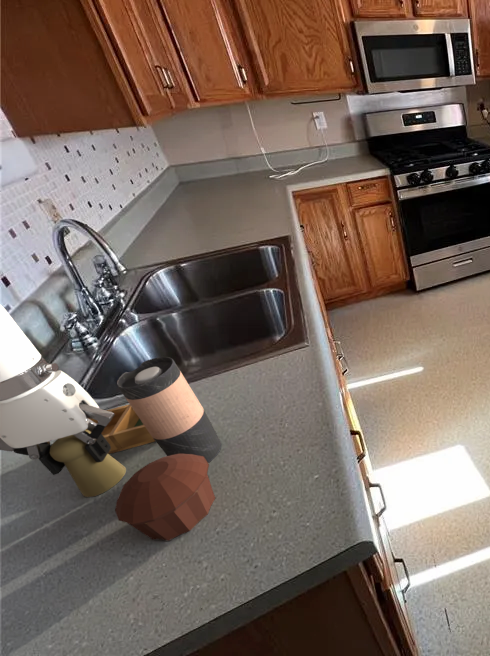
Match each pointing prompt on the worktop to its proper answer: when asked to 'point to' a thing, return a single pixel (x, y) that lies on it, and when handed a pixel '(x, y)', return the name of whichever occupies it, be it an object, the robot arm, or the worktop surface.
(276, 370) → the worktop surface
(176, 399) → the travel mug
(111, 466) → the cork
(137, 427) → the tray
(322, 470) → the worktop surface
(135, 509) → the muffin
